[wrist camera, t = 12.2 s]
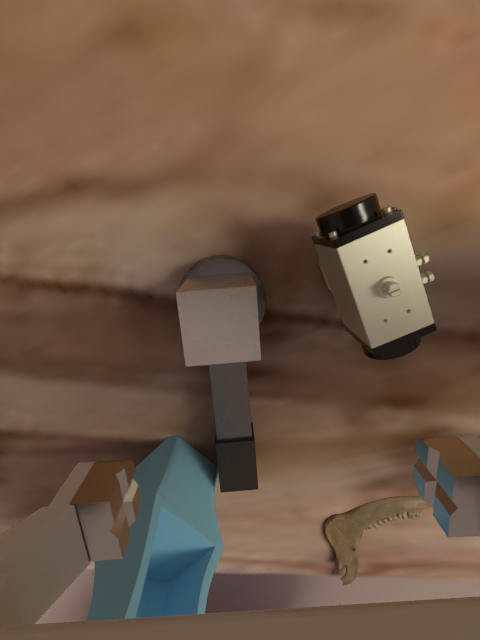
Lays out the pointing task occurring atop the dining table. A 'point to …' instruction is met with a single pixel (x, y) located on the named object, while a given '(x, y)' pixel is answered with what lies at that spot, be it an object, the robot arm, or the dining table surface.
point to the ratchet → (232, 395)
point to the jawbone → (351, 524)
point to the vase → (164, 540)
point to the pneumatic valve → (375, 276)
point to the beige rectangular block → (219, 319)
